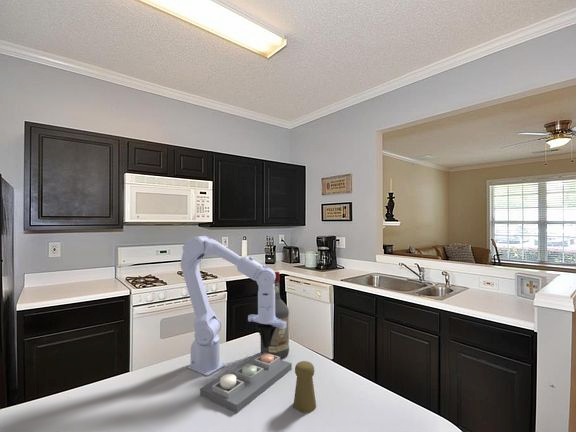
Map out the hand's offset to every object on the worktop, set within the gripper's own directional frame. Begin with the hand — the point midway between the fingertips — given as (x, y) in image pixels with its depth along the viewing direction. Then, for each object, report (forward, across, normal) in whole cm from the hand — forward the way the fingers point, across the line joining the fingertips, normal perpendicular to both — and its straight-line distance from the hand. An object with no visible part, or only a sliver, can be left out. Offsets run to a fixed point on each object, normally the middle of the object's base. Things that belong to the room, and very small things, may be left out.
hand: (266, 346), depth 97 cm
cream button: (+4, 0, +18) cm, 18 cm away
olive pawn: (+8, -20, +10) cm, 24 cm away
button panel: (+7, 0, +9) cm, 11 cm away
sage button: (+5, 0, +9) cm, 10 cm away
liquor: (+8, +4, -10) cm, 13 cm away
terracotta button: (+5, 0, 0) cm, 5 cm away
